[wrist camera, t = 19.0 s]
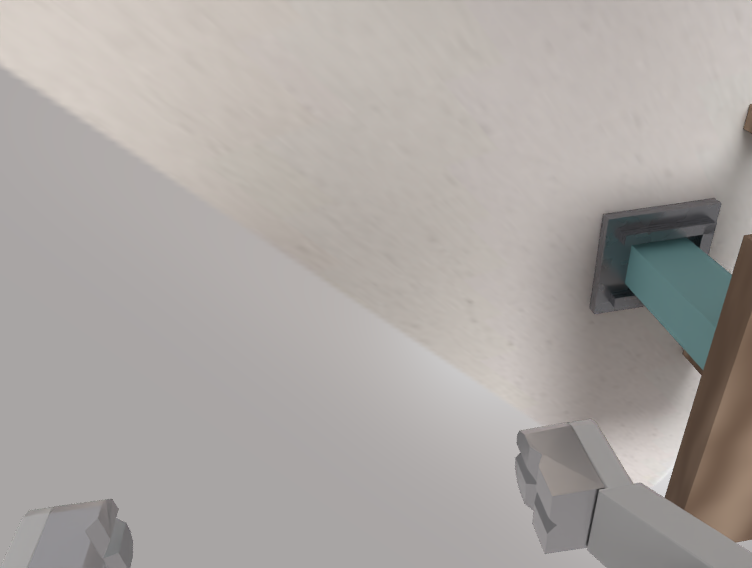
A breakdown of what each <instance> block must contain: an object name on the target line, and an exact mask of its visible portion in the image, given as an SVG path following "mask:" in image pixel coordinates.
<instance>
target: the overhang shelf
mask: <svg viewBox="0 0 752 568" xmlns="http://www.w3.org/2000/svg"><path fill="white" fill-rule="evenodd" d="M744 130H746V131H748V132H750V133H752V104H750V107H749V110H748V114H747V118H746V122H745V125H744ZM683 355H684V356H685V357H686V358H687V359H688V360H689V362H690V363H691V364H692V365H693V366H694V367H695V368H696V370H697V371H698V372H699V373H700V374H701V375H702V376H701V379H700V383H699V386H698V389H697V393H696V396H695V399H694V402H693V406H692V409H691V412H690V416H689V419H688V422H687V426H686V429H685V432H684V435H683V439H682V442H681V445H680V449H679V452H678V455H677V459H676V462H675V465H674V468H673V472H672V475H671V479H670V482H669V485H668V489H667V492H666V495H665V498H666V499H667V500H669V501H671V502H672V503H674V504H675V505H677V506H678V507H680V508H682V509H683V510H685V511H686V512H688V513H690V514H691V515H693V516H694V517H696V518H697V519H699V520H701V521H702V522H704V523H705V524H707V525H709V526H710V527H712V528H713V529H715V530H717V531H718V532H720V533H721V534H723V535H724V536H726V537H728V538H729V539H731V540H732V541H734V542H741V541H746V540H752V234H750V235H744V237H743V241H742V244H741V247H740V251H739V254H738V257H737V261H736V264H735V267H734V270H733V274H732V277H731V280H730V284H729V287H728V290H727V294H726V297H725V300H724V303H723V307H722V310H721V313H720V317H719V320H718V323H717V327H716V330H715V333H714V336H713V340H712V343H711V346H710V350H709V353H708V356H707V360H706V363H705V366H704V369H703V370H702V369H701V367H700V366H699V365H698V364H697V363H696V362H695V361H694V360H693V359H692V357H691V356H690V355H689V354H688V353H687V352H686V351H685V350H684V351H683Z"/></svg>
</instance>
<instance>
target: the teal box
mask: <svg viewBox="0 0 752 568" xmlns="http://www.w3.org/2000/svg"><path fill="white" fill-rule="evenodd" d="M731 277H732V275H731V274H730V273H729V272H728V271H726V270H725V269H724V268H723V267H722V266H720V265H719V264H718V263H717V262H716V261H714V260H713V259H712V258H711V257H710V256H708V255H707V254H706V253H705V252H703V251H702V250H701V249H700V248H699V247H697V246H696V245H695V244H694V243H693V242H691V241H690V240H689V239H688V238H687V237H685V238H678V239H672V240H665V241H658V242H651V243H645V244H638V245H632V246H631V252H630V257H629V263H628V268H627V274H626V279H625V284H626V285H627V286H628V287H629V289H630V290H631V291H632V292H633V293H634V294H635V295H636V296H637V297H638V299H639V300H640V301H641V302H642V303H643V304H644V305H645V306H646V307H647V309H648V310H649V311H650V312H651V313H652V314H653V315H654V316H655V317H656V319H657V320H658V321H659V322H660V323H661V324H662V325H663V326H664V327H665V329H666V330H667V331H668V332H669V333H670V334H671V335H672V336H673V337H674V339H675V340H676V341H677V342H678V343H679V344H680V345H681V346H682V347H683V349H684V350H685V351H686V352H687V353H688V354H689V355H690V356H691V357H692V359H693V360H694V361H695V362H696V363H697V364H698V365H699V366H700V367H701V369H702V370H703V369H704V366H705V363H706V360H707V356H708V353H709V350H710V346H711V343H712V340H713V336H714V333H715V330H716V327H717V323H718V320H719V317H720V313H721V310H722V307H723V303H724V300H725V297H726V294H727V290H728V287H729V284H730V280H731Z"/></svg>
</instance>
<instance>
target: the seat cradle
mask: <svg viewBox="0 0 752 568" xmlns="http://www.w3.org/2000/svg"><path fill="white" fill-rule="evenodd" d="M720 207H721V202H719V201H718V200H716V199H715V198H712V199H705V200H698V201H691V202H684V203H677V204H670V205H663V206H657V207H650V208H643V209H636V210H629V211H622V212H615V213H608V214H603V218H602V225H601V232H600V239H599V246H598V253H597V260H596V267H595V274H594V281H593V288H592V295H591V302H590V309H591V310H592V312H593V313H594V314H598V313H605V312H611V311H618V310H624V309H630V308H637V307H643V306H645V305H644V304H643V303H642V302H641V301H640V300H639V299H638V297H637V296H636V295H635V294H634V293H633V292H632V291H631V290H630V289H629V287H628V286H627V285H626V284H625V279H626V274H627V268H628V263H629V257H630V252H631V246H632V245H638V244H645V243H651V242H658V241H665V240H672V239H678V238H685V237H687V238H688V239H689V240H690V241H691V242H693V243H694V244H695V245H696V246H697V247H699V248H700V249H701V250H702V251H703V252H705V253H706V254H707V255H708V254H709V250H710V246H711V243H712V239H713V235H714V231H715V228H716V224H717V218H718V214H719V210H720Z"/></svg>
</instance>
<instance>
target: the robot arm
mask: <svg viewBox="0 0 752 568" xmlns="http://www.w3.org/2000/svg"><path fill="white" fill-rule="evenodd" d="M517 445H518V448H519V450H520V454H519V455H518V456H517V457H516V462H515V470H516V477H517V483H518V486H519V490H520V493H521V496H522V498H523V501H524V504H526V505H527V506H528V507H530V508H531V509H532V510H534V512H533V523H532V524H533V525H534V529H535V531H536V533H537V536H538V538H539V541H540V543H541V546H542V548H543V551H544V553H545V554H547V553H554V552H561V551H568V550H574V549H580V548H587V550H588V551H589V552H590V553H591V554H592V555H594V557H595V558H597V559H598V560H599V561H600V562H601V563H602V564H603V565H604V566H605V567H607V568H752V553H751V552H750V551H748V550H747V549H745V548H743V547H742V546H740V545H739V544H737V543H736V542H734V541H732V540H731V539H729V538H728V537H726V536H724V535H723V534H721V533H720V532H718V531H717V530H715V529H713V528H712V527H710V526H709V525H707V524H705V523H704V522H702V521H701V520H699V519H697V518H696V517H694V516H693V515H691V514H690V513H688V512H686V511H685V510H683V509H682V508H680V507H678V506H677V505H675V504H674V503H672V502H671V501H669V500H667V499H666V498H664V497H663V496H661V495H659V494H658V493H656V492H655V491H653V490H651V489H650V488H648V487H647V486H645V485H644V484H642V483H635V484H633V482H632V480H631V479H630V477H629V476H628V474H627V472H626V471H625V469H624V467H623V466H622V464H621V462H620V461H619V459H618V457H617V456H616V454H615V453H614V451H613V449H612V448H611V446H610V444H609V443H608V441H607V439H606V438H605V436H604V435H603V433H602V431H601V430H600V428H599V426H598V425H597V423H596V422H595V421H594V420H592V419H586V420H580V421H574V422H568V423H559V424H554V425H548V426H542V427H537V428H532V429H526V430H521V431H519V433H518V435H517ZM117 513H118V507H117V506H116V504H115V503H114V501H113V499H105V500H99V501H91V502H84V503H77V504H69V505H62V506H55V507H48V508H43V509H35V510H30V511H28V512H27V513H26V514H25V516H24V517H23V518H22V519H21V521H20V523H19V526H18V528H17V530H16V533H15V535H14V537H13V539H12V542H11V544H10V546H9V549H8V551H7V553H6V556H5V558H4V560H3V562H2V565H1V567H0V568H130V566H131V562H132V557H133V540H132V536H131V531H130V530H129V527H128V525H127V523H126V522H123V521H121V520H119V519H117V518H116V517H117Z"/></svg>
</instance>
